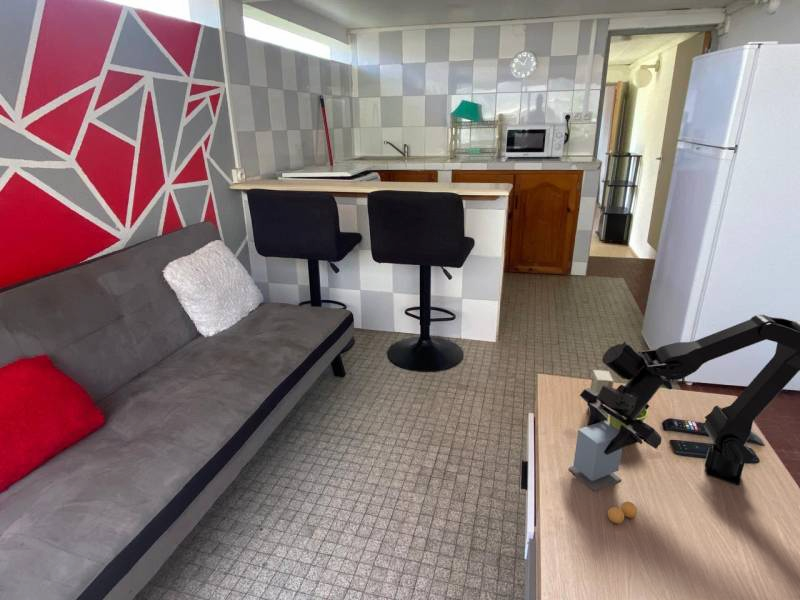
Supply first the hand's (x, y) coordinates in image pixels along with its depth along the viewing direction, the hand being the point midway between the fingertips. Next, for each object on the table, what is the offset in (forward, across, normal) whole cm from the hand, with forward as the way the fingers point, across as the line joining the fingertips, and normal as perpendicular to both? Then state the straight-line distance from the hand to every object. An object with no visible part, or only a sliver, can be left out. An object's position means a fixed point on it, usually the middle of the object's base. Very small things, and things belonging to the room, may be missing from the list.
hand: (594, 445), depth 104 cm
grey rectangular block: (+4, 0, +6) cm, 7 cm away
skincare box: (-9, -18, +21) cm, 29 cm away
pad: (+5, 0, +7) cm, 9 cm away
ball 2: (+7, +12, +5) cm, 15 cm away
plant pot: (-7, -8, +20) cm, 22 cm away
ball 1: (+10, +12, +2) cm, 16 cm away
